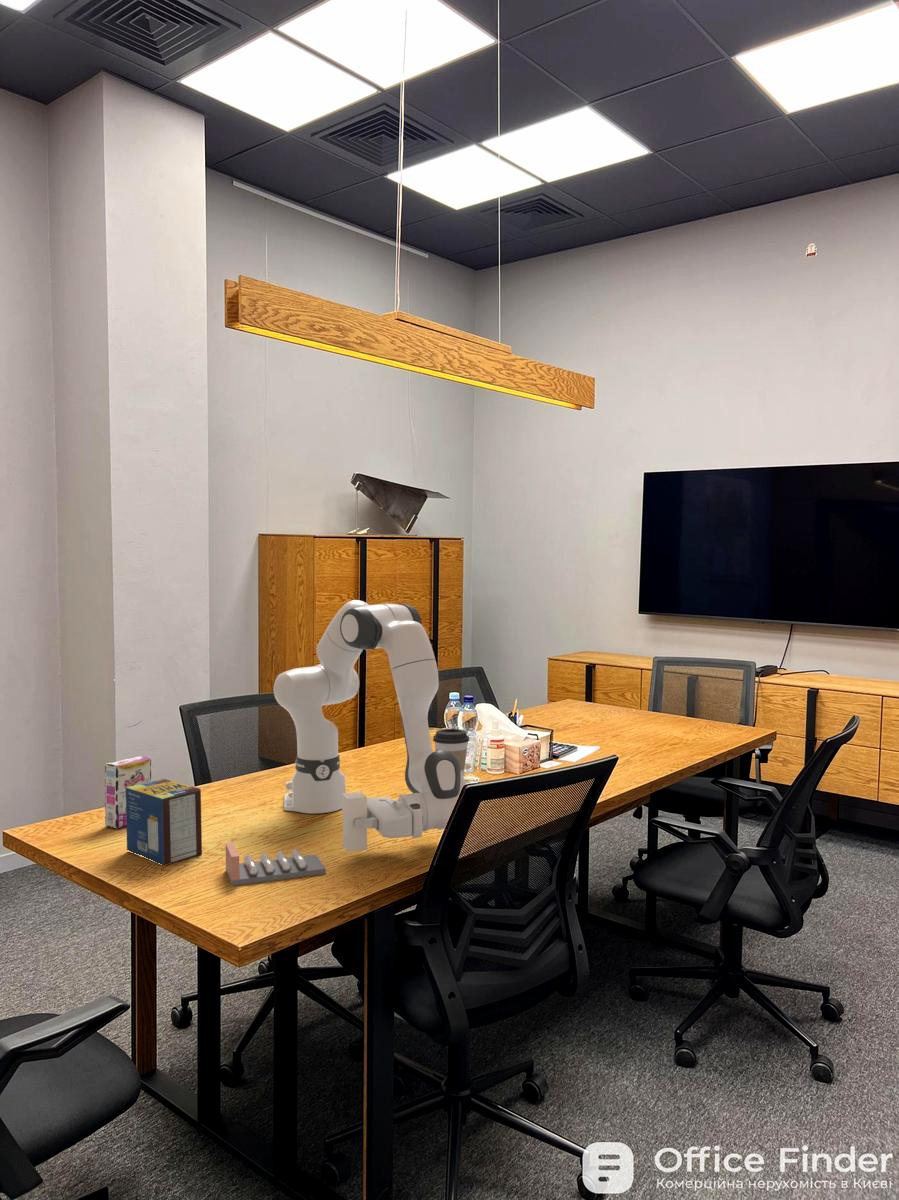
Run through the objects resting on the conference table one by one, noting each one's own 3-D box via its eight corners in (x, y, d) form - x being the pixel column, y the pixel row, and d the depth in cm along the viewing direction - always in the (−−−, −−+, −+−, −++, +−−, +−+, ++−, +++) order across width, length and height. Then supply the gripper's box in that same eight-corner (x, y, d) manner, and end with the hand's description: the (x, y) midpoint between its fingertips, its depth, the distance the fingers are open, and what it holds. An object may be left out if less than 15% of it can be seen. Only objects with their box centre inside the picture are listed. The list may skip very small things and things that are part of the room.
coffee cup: (469, 775, 283) (469, 728, 282) (469, 784, 272) (469, 735, 271) (433, 775, 284) (433, 728, 283) (431, 784, 272) (431, 735, 271)
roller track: (225, 870, 198) (225, 842, 197) (315, 859, 205) (315, 832, 205) (231, 886, 188) (231, 856, 188) (325, 873, 195) (325, 845, 195)
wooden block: (342, 845, 204) (342, 793, 204) (361, 843, 206) (361, 791, 205) (347, 852, 200) (347, 798, 200) (367, 849, 202) (366, 796, 201)
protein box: (164, 841, 218) (163, 778, 217) (202, 854, 208) (201, 788, 208) (125, 852, 210) (124, 786, 209) (163, 866, 200) (162, 798, 200)
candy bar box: (117, 830, 227) (116, 766, 226) (104, 827, 229) (103, 763, 229) (153, 819, 236) (151, 757, 236) (140, 816, 239) (138, 755, 238)
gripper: (395, 788, 217) (339, 794, 212) (423, 811, 198) (362, 818, 193) (395, 814, 217) (339, 820, 212) (423, 840, 198) (362, 847, 193)
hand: (350, 819), depth 202 cm, fingers closed on wooden block, 4 cm apart
